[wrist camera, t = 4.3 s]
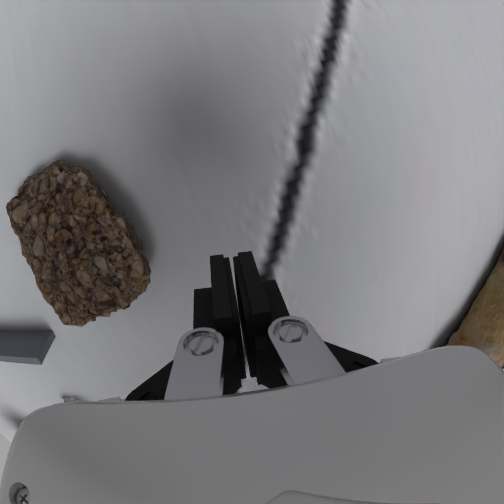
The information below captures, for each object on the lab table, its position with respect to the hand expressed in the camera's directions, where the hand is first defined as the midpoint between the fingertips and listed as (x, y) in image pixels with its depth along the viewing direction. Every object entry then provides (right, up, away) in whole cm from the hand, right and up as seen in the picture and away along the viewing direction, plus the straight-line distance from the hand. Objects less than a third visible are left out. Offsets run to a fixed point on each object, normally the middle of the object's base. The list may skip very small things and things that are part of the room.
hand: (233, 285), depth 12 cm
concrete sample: (-12, +3, +8) cm, 15 cm away
